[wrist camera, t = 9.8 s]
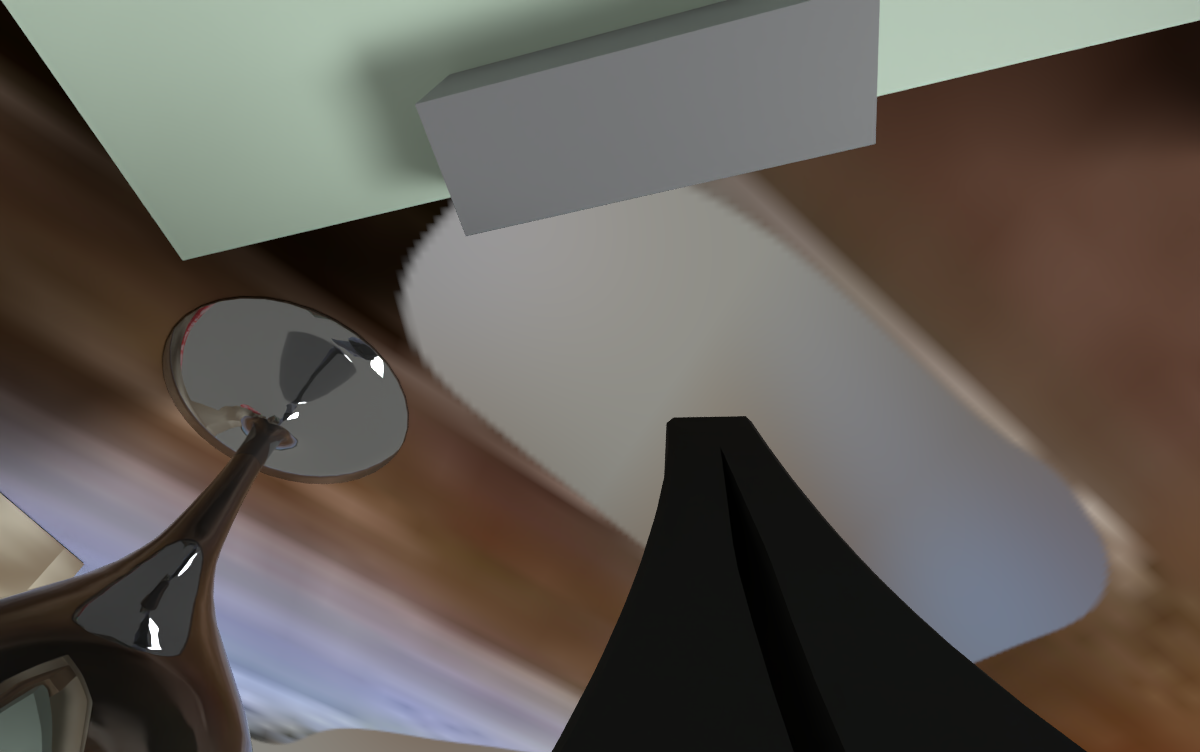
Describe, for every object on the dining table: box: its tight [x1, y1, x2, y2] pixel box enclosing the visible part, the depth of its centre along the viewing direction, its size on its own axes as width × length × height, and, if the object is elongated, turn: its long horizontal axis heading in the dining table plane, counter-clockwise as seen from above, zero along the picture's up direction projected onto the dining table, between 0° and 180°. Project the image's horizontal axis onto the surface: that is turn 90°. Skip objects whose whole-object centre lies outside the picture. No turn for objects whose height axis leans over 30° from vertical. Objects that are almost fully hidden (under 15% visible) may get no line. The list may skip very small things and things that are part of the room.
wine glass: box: [0, 297, 409, 752], centre depth 12 cm, size 8×8×15 cm
